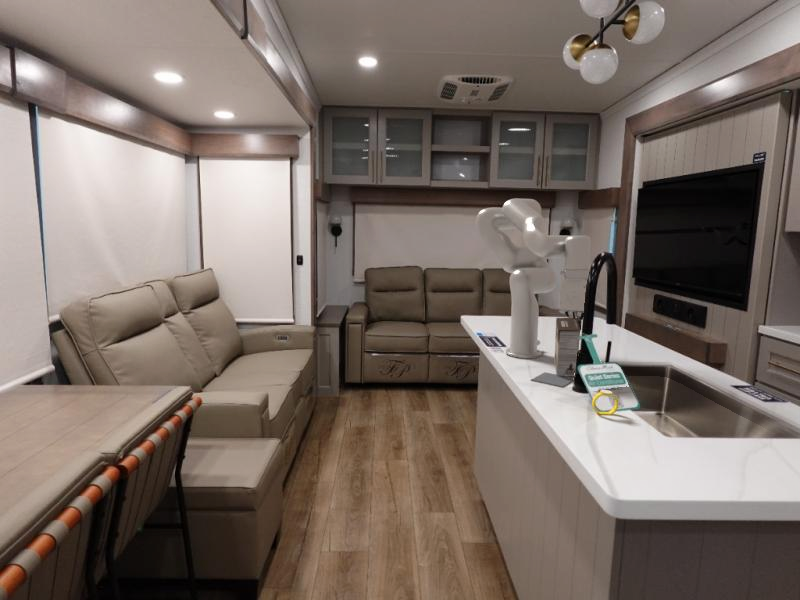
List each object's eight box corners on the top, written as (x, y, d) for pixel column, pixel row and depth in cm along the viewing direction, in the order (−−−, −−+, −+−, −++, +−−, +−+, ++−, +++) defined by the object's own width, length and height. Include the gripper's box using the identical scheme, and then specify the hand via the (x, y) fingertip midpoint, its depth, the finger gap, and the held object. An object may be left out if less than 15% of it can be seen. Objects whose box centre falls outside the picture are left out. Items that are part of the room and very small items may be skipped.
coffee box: (553, 361, 162) (555, 316, 156) (574, 362, 160) (577, 317, 154) (556, 376, 153) (558, 329, 147) (578, 377, 152) (581, 330, 146)
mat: (544, 373, 157) (544, 372, 157) (576, 379, 151) (576, 378, 151) (530, 380, 150) (530, 379, 150) (562, 387, 144) (562, 386, 143)
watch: (613, 413, 125) (617, 390, 124) (617, 417, 122) (621, 394, 121) (589, 411, 125) (592, 388, 124) (593, 415, 122) (596, 392, 121)
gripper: (549, 275, 157) (548, 331, 160) (597, 276, 148) (595, 336, 150) (558, 273, 163) (557, 328, 165) (605, 275, 154) (603, 333, 156)
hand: (575, 332), depth 158 cm, fingers closed
